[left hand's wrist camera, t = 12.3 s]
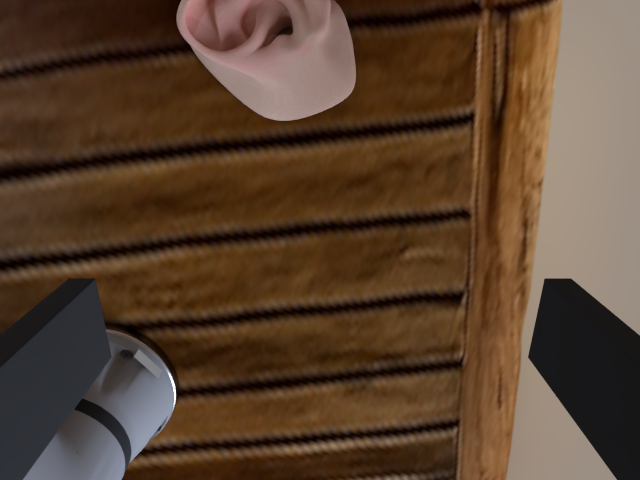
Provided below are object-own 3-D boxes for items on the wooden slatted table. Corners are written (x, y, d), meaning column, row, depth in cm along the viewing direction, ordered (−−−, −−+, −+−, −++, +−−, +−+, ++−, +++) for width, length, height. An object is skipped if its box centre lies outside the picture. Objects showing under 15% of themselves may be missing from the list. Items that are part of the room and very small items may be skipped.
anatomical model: (388, 71, 32) (268, 162, 35) (381, 71, 36) (273, 153, 38) (276, -104, 28) (151, 13, 31) (281, -84, 32) (169, 19, 35)
